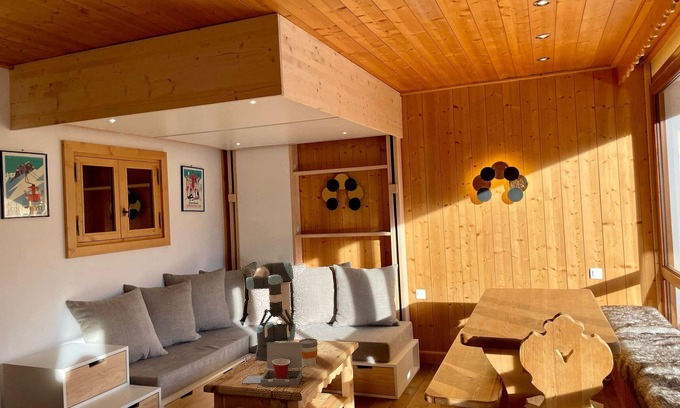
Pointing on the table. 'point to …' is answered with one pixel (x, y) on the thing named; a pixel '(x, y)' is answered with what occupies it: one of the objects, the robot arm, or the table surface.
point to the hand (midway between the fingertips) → (277, 336)
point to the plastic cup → (281, 368)
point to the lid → (285, 354)
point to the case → (281, 381)
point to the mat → (252, 380)
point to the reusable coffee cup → (309, 351)
